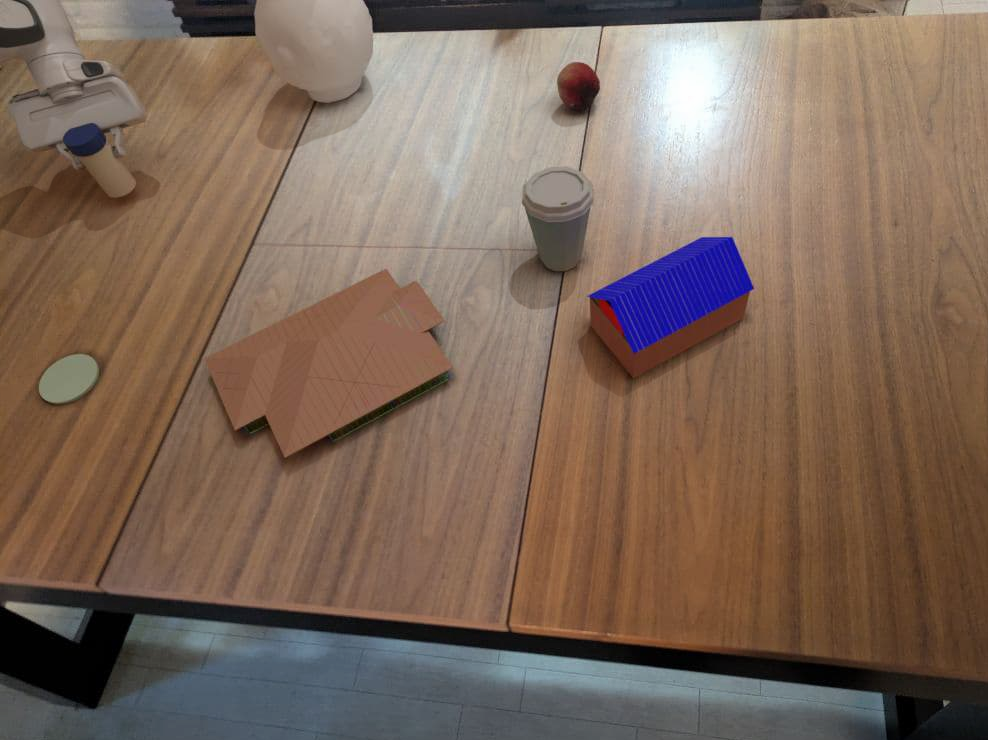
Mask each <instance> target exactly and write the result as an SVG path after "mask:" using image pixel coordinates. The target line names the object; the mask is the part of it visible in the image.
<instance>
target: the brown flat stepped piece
mask: <svg viewBox="0 0 988 740" xmlns="http://www.w3.org/2000/svg"><path fill="white" fill-rule="evenodd" d="M445 322H446V321H445V319H444V318H443V316H442V315H441V314H440V312H439V311H438V309H437V308H436V306H435V304H434V303H433V302H432V300H431V299H430V298H429V296H428V295H427V293H426V291H425V290H424V289H423V288H422V286H421V285H420V283H419V282H418V280H414V281H412V282H410V283H408V284H406V285H403V286H402V287H400V286H399V285H398V283H397V282H396V281H395V279H394V277H393V275H391V272H390V271H389V270H388V268H383V269H382V270H380V271H378V272H376V273H374V274H371V275H370V276H368V277H366V278H364V279H362V280H360V281H358V282H356V283H354V284H352V285H349V286H347V287H346V288H344V289H342V290H340V291H338V292H335V293H333V294H332V295H330V296H328V297H325V298H323V299H321V300H319V301H317V302H315V303H313V304H311V305H309V306H307V307H304V308H303V309H301V310H299V311H297V312H295V313H293V314H291V315H289V316H287V317H285V318H283V319H281V320H279V321H277V322H274V323H272V324H271V325H269V326H266V327H265V328H262V329H261V330H258V331H256V332H255V333H252V334H251V335H249V336H247V337H244V338H243V339H241V340H238V341H236V342H235V343H232V344H230V345H228V346H227V347H225V348H222V349H220V350H218V351H216V352H214V353H212V354H210V355H209V356H206V357H204V362H205V364H206V366H207V368H208V371H209V373H210V375H211V377H212V380H213V382H214V385H215V387H216V389H217V392H218V394H219V396H220V399H221V401H222V404H223V406H224V408H225V411H226V413H227V416H228V418H229V421H230V423H231V425H232V427H233V430H234V432H236V431H238V430H240V429H241V428H242V429H243V430H244V431H245V432H246V433H247V435H251V434H253V433H255V432H257V431H259V430H261V429H262V428H264V427H266V426H268V425H269V426H270V429H271V431H272V434H273V435H274V437H275V440H276V442H277V444H278V446H279V448H280V450H281V453H282V455H283V457H284V458H285V459H286V458H288V457H290V456H292V455H294V454H295V453H297V452H299V451H301V450H303V449H305V448H307V447H309V446H310V445H312V444H314V443H316V442H318V441H320V440H322V439H323V438H325V437H327V436H328V438H329V439H330V440H331V442H332V443H334V442H336V441H338V440H340V439H341V438H343V437H345V436H347V435H349V434H351V433H352V432H354V431H356V430H358V429H360V428H362V427H363V426H365V425H367V424H369V423H371V422H372V421H375V420H376V419H378V418H380V417H383V416H384V415H385V414H388V413H389V412H391V411H393V410H394V409H397V408H398V407H401V406H402V405H404V404H406V403H408V402H410V401H411V400H414V399H415V398H417V397H419V396H421V395H422V394H424V393H426V392H428V391H430V390H432V389H434V388H436V387H437V386H439V385H441V384H443V383H445V382H446V381H448V380H450V376H449V373H448V371H450V370H452V369H454V367H453V365H452V364H451V362H450V360H449V359H448V358H447V357H446V354H445V353H444V352H443V351H442V350H443V349H441V347H440V346H439V345H438V343H437V341H436V340H435V339H434V337H433V335H432V334H431V332H430V330H431V329H433V328H435V327H437V326H439V325H441V324H442V323H445ZM444 375H446V377H447V378H445V376H444ZM441 376H442V377H443V381H442V379H441ZM438 378H439V381H440V382H439V383H438V384H437V382H436V379H438ZM432 381H434V383H435V385H434V386H432V385H431V382H432ZM427 384H429V386H430V388H428V389H427V387H426V385H427ZM423 386H424V388H425V390H424V391H423V392H422V390H421V387H423ZM417 389H419V391H420V392H421V393H419V394H417V392H416V390H417ZM413 391H414V394H415V396H413V397H412V395H411V393H412V392H413ZM406 395H409V396H410V399H408V400H407V397H406ZM403 397H404V398H405V400H406V401H404V402H401V403H400V404H399V405H397V403H396V401H397V400H400V399H401V398H403ZM391 403H393V405H394V407H393V406H392V404H391ZM388 405H390V407H391V409H390V407H389V406H388ZM385 406H387V408H388V410H387V411H386V412H385V410H384V408H383V407H385ZM381 409H382V411H383V413H381V414H380V413H379V410H381ZM374 412H377V413H378V416H376V417H375V416H374V414H373V413H374ZM369 415H372V416H373V418H372V419H371V420H370V419H369V418H368V416H369ZM365 417H366V418H367V420H368V421H367V422H366V423H365V421H363V418H365ZM264 419H266V420H267V422H268V423H267V424H266V423H264V422H263V420H264ZM360 420H361V421H362V422H363V424H362V425H359V424H358V421H360ZM259 421H261V423H262V424H263V426H261V427H260V425H258V422H259ZM354 423H356V424H357V426H358V427H356V428H354V427H353V425H352V424H354ZM253 424H255V425H256V426H257V427H258V428H257V429H254V428H253V426H252V425H253ZM349 426H351V427H352V429H353V430H351V431H349V430H348V428H347V427H349ZM248 427H250V428H251V429H252V430H253V431H251V432H250V431H249V429H248ZM343 429H346V431H347V433H345V434H344V433H343V432H342V430H343ZM339 431H340V432H341V434H342V435H341V436H339V435H337V434H336V433H338V432H339ZM333 434H335V435H336V437H337V438H336V439H333V437H332V436H331V435H333Z"/></svg>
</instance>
